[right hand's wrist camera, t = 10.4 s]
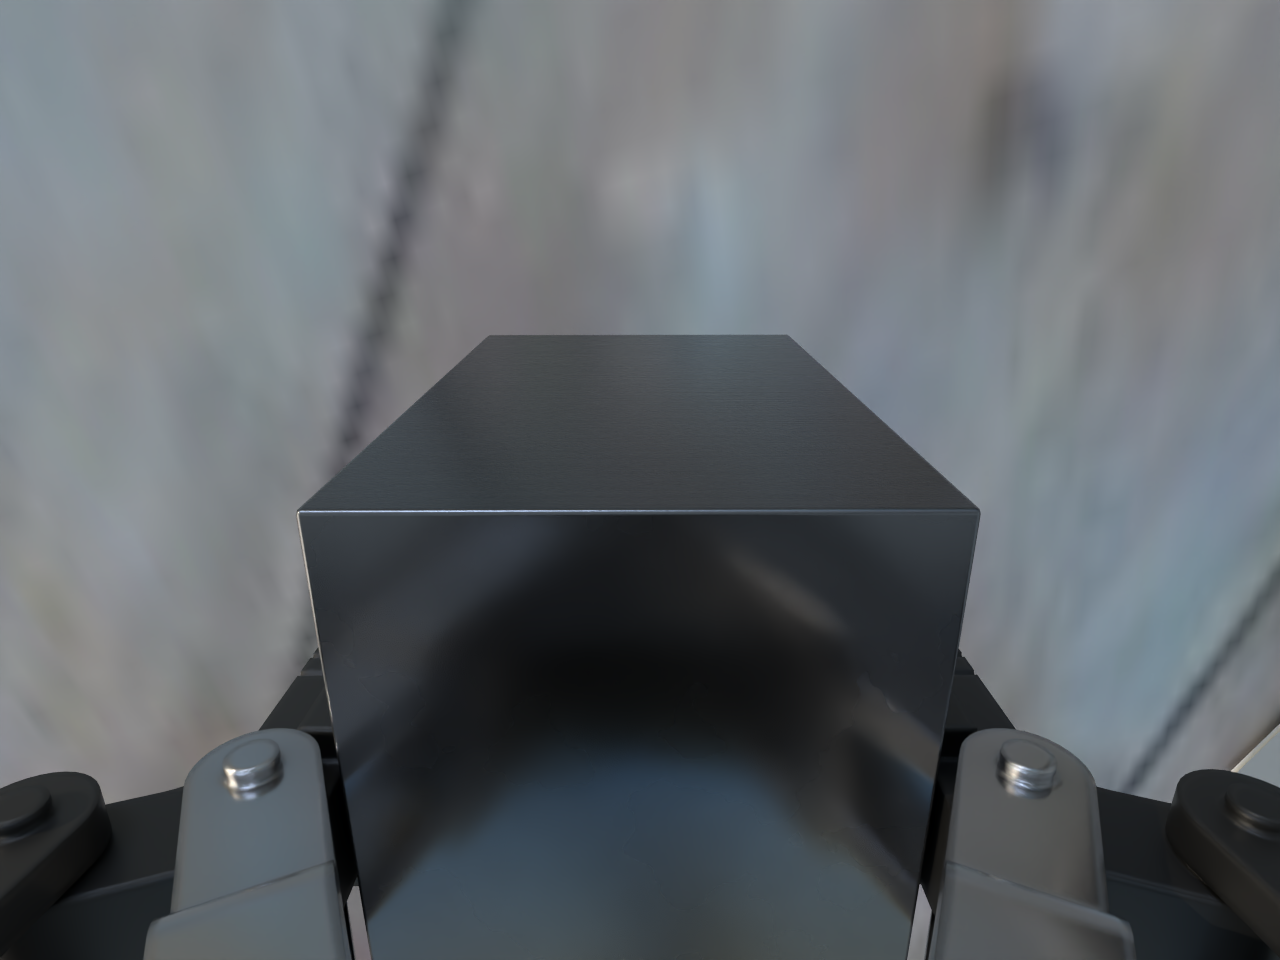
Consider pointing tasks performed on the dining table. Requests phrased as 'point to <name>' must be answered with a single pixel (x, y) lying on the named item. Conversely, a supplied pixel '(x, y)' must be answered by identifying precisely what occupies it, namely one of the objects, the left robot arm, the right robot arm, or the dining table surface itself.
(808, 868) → the bar
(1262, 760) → the invitation card
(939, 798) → the right robot arm
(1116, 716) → the dining table surface
